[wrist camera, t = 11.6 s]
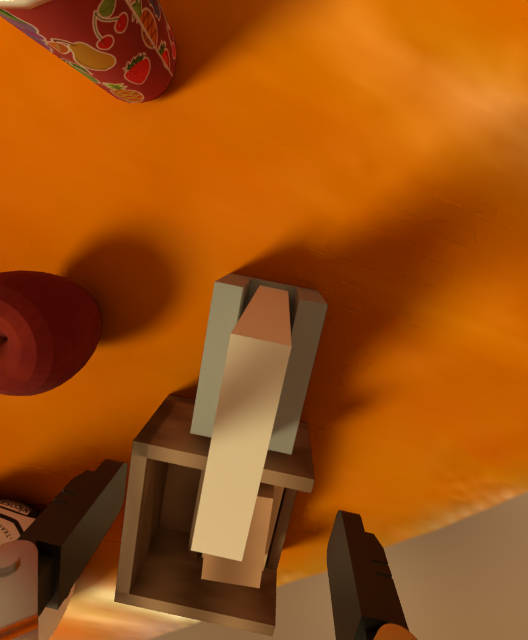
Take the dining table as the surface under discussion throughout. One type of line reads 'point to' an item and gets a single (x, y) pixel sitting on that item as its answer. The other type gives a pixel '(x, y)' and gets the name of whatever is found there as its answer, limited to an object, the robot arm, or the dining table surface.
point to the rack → (180, 519)
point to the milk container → (7, 525)
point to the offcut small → (254, 551)
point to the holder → (305, 336)
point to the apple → (44, 331)
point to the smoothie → (104, 41)
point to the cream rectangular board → (243, 424)
